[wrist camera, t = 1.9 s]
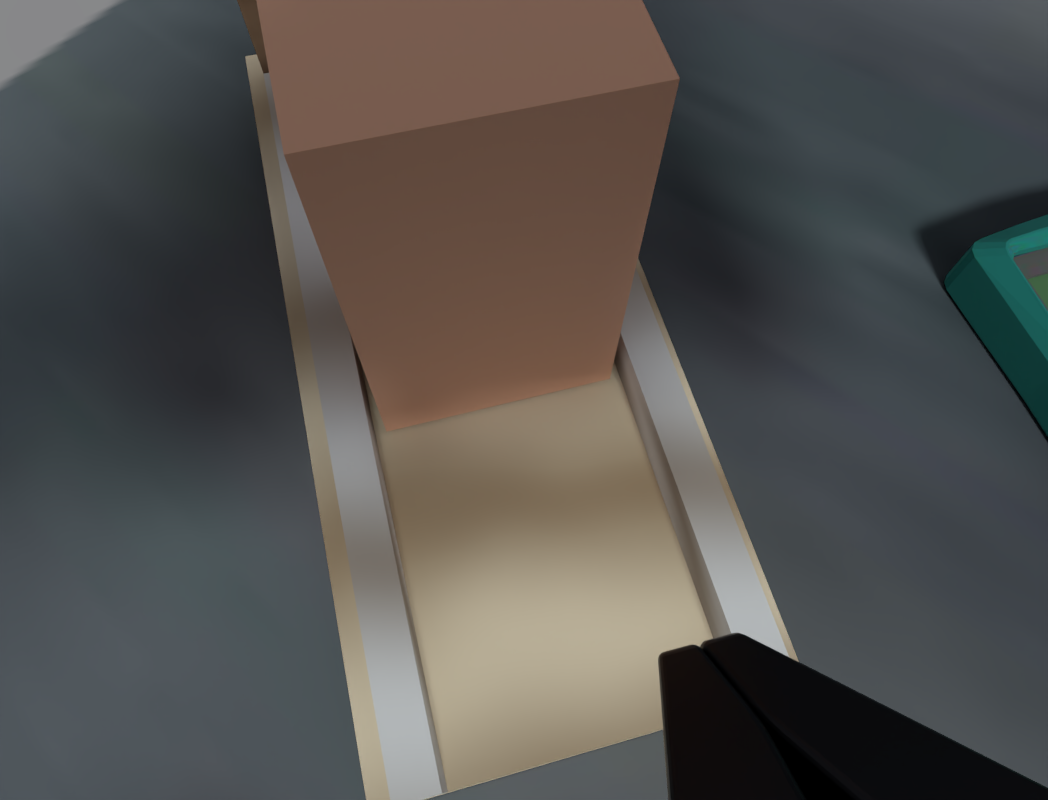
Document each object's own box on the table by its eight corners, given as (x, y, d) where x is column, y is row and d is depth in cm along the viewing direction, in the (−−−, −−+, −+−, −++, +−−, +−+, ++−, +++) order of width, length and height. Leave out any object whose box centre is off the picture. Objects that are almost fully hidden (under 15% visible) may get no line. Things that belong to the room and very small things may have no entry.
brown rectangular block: (609, 378, 21) (680, 78, 12) (386, 431, 20) (283, 154, 11) (567, 258, 23) (601, -85, 14) (359, 303, 22) (250, -27, 13)
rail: (787, 692, 19) (907, 654, 13) (380, 813, 18) (314, 828, 12) (536, 41, 29) (541, -148, 23) (258, 91, 28) (188, -94, 22)
